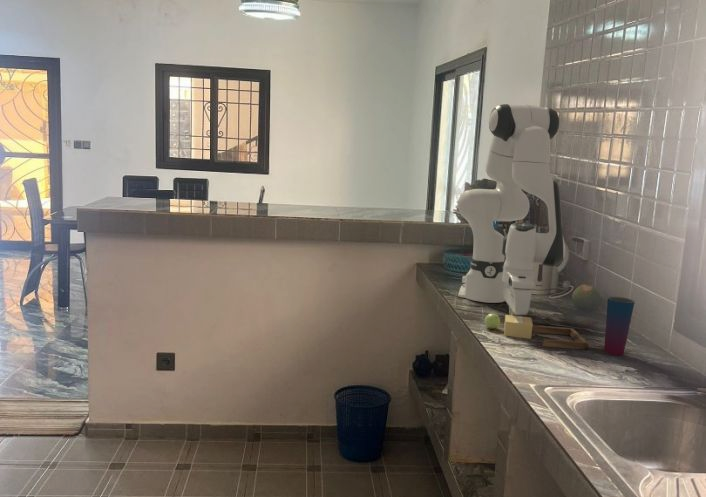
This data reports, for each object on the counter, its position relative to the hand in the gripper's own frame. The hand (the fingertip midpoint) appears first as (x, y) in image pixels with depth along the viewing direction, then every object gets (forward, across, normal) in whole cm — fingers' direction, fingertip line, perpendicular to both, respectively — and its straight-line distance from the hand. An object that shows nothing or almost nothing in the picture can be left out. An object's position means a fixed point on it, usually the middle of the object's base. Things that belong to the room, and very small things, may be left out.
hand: (512, 321), depth 195 cm
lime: (+2, +4, -7) cm, 8 cm away
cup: (+2, +18, +24) cm, 30 cm away
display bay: (+2, +10, +10) cm, 15 cm away
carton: (+2, +6, 0) cm, 7 cm away
